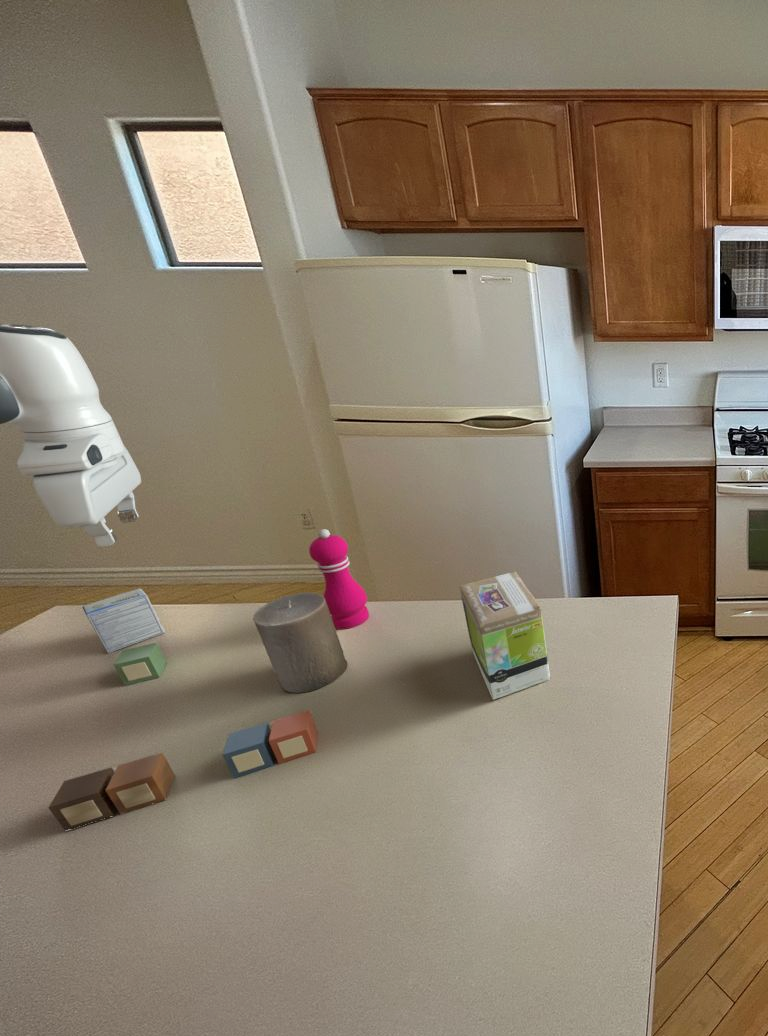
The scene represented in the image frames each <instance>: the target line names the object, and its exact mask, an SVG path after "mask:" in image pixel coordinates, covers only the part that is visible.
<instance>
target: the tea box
mask: <svg viewBox="0 0 768 1036" xmlns="http://www.w3.org/2000/svg"><path fill="white" fill-rule="evenodd" d="M459 590H460V596H461V598H460V599H461V602H462V607H463V611H464V616H465V621H466V628H467V632H468V637H469V643H470V647H471V651H472V654H473V656H474V659H475V661H476V664H477V666H478V669H479V671H480V673H481V676H482V679H483V680H484V681H483V682H485V685H486V688H487V690H488V692H489V695H490V697H491V699H492V700H493V701H494V700H496V699H500V698H503V697H506V696H509V695H511V694H514V693H517V692H520V691H523V690H526V689H528V688H530V687H533V686H535V685H536V686H537V685H538V684H541V683H544V682H546V681H549V680H550V678H551V674H550V666H549V660H548V651H547V644H546V635H545V629H544V618H543V614H542V612H543V611H542V608H541V606H540V605H539V603H538V601H537V600H536V598H535V597H534V595H533V594H532V592H531V591H530V590H529V589H528V587H527V586H526V584H525V583H524V581H523V580H522V578H521V577H520V576H519V574H518V573H517V571H512V572H507V573H504V574H499V575H496V576H492V577H488V578H484V579H480V580H476V581H473V582H469V583H465V584H461V585H459Z"/></svg>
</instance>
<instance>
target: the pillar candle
mask: <svg viewBox="0 0 768 1036" xmlns="http://www.w3.org/2000/svg"><path fill="white" fill-rule="evenodd" d="M323 596H324V595H323V594H320V593H318V592H297V593H294V594H289V595H285V596H282V597H280V598H277V599H274V600H272V601H270V602H268V603H266V604H264V605H263V606H262V607H261V606H260V607H259V608H258V609H257V610H255V612H254V614H253V618H252V621H253V623H254V625H255V627H256V630H257V632H258V634H259V637H260V639H261V642H262V644H263V646H264V649H265V652H266V654H267V656H268V659H269V661H270V664H271V667H272V669H273V672H274V673H275V675H276V678H277V680H278V683H279V686H280V688H282V689H283V690H285V691H286V692H289V693H292V694H297V693H298V694H300V693H303V694H304V693H307V692H313V691H316V690H318V689H321V688H323V687H325V686H328V685H329V684H331V683H332V682H335V681H336V680H337V679H338V678H340V677H341V676H342V675H343V674H344V673H345V672H346V670H347V668H348V661H347V659H346V657H345V655H344V650H343V647H342V644H341V642H340V638H339V636H338V633H337V630H336V629H337V628H335V626H334V624H333V620H332V617H331V615H330V612H329V609H328V606H327V603H326V600H325V598H324V597H323Z"/></svg>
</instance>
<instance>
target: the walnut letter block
mask: <svg viewBox="0 0 768 1036" xmlns="http://www.w3.org/2000/svg"><path fill="white" fill-rule="evenodd" d="M114 772H115V771H114V769H113V767H112V766H111V767H108V768H104V769H101V770H97V771H94V772H90V773H87V774H84V775H79V776H77V777H73V778H70V779H66V780H64V781H63V783H62V784H61V786H60V787H59V789H58V791H57V792H56V793H55V795H54V797H53V798H52V800H51V802H50V804H49V806H48V809H49V811H50V813H51V814H52V815H53V817H54V819H56V821H57V822H58V824H59V825H60V826H61V828H62V829H63V830H64V831H65V830H68V829H74V828H77V827H79V826H83V825H85V824H88V823H91V822H95V821H99V820H101V819H104V818H108V817H110V816H114V814H115V815H116V813H117V811H118V809H117V808H116V806H115V805H114V803H113V802H112V800H111V799H110V797H109V795H108V794H107V792H106V791H105V790H106V788H107V786H108V784H109V782H110V780H111V778H112V776H113V774H114ZM116 810H117V811H116ZM115 812H116V813H115ZM114 817H115V816H114ZM108 819H109V818H108ZM99 822H100V821H99ZM83 827H84V826H83ZM77 829H78V828H77ZM74 830H75V829H74Z"/></svg>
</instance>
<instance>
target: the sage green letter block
mask: <svg viewBox="0 0 768 1036" xmlns="http://www.w3.org/2000/svg"><path fill="white" fill-rule="evenodd" d="M167 664H168V662H167V659H166V658H165V655H164V654H163V652H162V650H161V648H160V646H159V644H158V642H154V643H149V644H145V645H140V646H135V647H131V648H126V649H123V650H121V652H120V654H119V655H118V657H117V659H116V660H115V662H114V663H113V667H114V669H115V670H116V672H117V674H118V676H119V678H120V680H121V681H122V683H123V685H124V686H130V685H134V684H138V683H142V682H147V681H150V680H154V679H157V678H160V677H161V675H162V673H163V672H164V670H165V668H166V665H167Z"/></svg>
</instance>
